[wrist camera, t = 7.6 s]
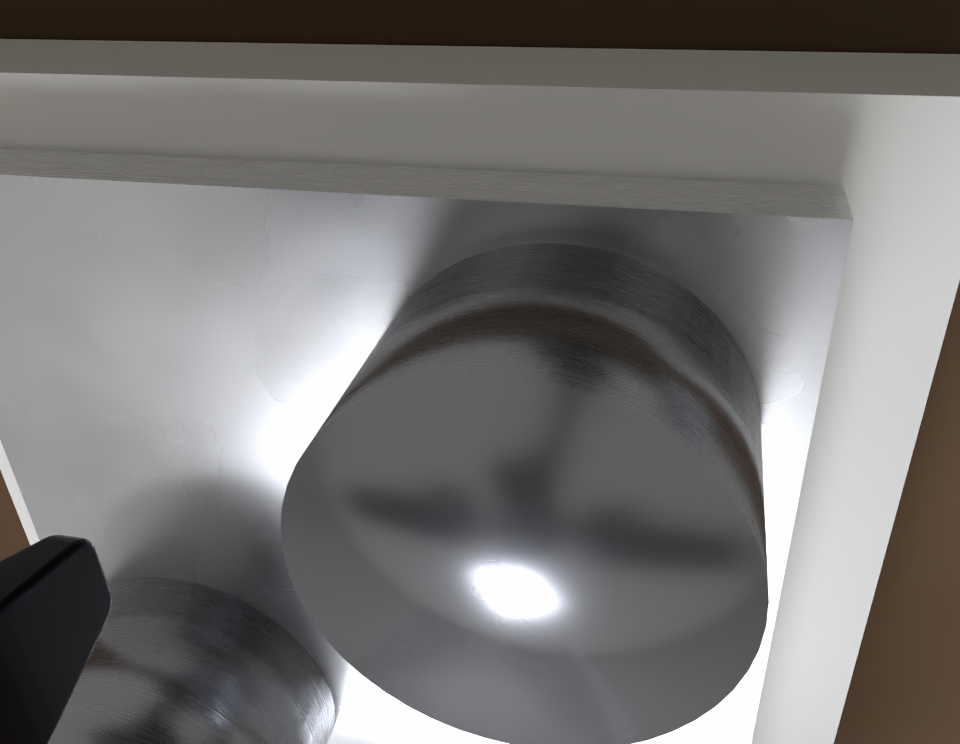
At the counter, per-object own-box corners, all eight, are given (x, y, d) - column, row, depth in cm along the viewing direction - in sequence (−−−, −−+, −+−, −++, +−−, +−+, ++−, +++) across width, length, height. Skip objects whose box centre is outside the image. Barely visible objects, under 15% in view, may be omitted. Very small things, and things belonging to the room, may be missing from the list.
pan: (843, 186, 10) (853, 220, 9) (727, 810, 17) (727, 863, 16) (-52, 145, 13) (-106, 168, 12) (144, 701, 19) (117, 741, 18)
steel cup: (789, 258, 10) (808, 408, 7) (735, 592, 12) (735, 787, 10) (356, 228, 11) (244, 351, 8) (389, 542, 13) (311, 706, 11)
